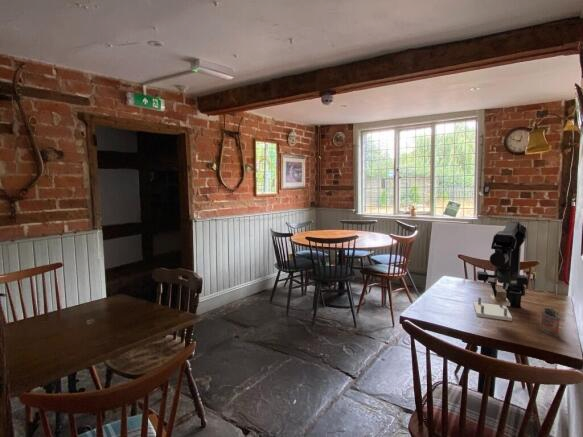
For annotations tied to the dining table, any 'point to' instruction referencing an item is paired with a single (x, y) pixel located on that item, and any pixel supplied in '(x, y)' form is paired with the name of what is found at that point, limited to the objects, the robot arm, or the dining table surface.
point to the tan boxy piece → (500, 298)
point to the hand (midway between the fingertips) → (500, 297)
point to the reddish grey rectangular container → (550, 321)
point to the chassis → (491, 311)
